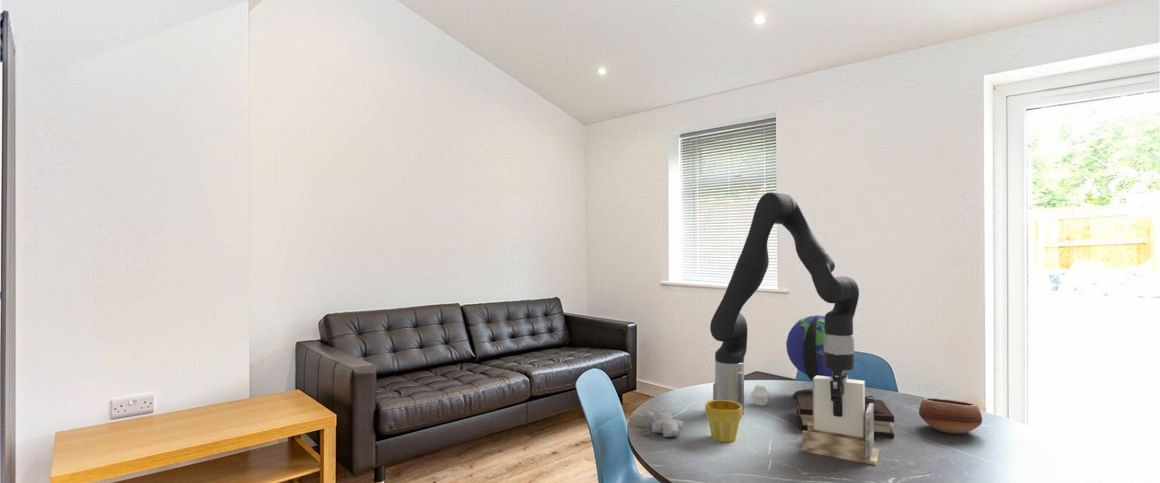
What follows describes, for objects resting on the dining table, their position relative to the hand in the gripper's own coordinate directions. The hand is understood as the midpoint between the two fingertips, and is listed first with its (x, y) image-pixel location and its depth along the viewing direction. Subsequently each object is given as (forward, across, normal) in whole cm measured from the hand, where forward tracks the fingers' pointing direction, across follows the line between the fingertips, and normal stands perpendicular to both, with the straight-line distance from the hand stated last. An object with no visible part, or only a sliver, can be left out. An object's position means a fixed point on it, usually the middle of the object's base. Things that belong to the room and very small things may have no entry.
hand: (839, 413), depth 152 cm
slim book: (+5, 0, 0) cm, 5 cm away
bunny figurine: (+10, +10, -47) cm, 49 cm away
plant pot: (+10, +7, -30) cm, 32 cm away
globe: (+10, -50, -14) cm, 53 cm away
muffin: (+10, -32, -30) cm, 45 cm away
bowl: (+11, -34, +25) cm, 44 cm away
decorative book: (+11, -24, -2) cm, 27 cm away
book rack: (+10, 0, 0) cm, 10 cm away
